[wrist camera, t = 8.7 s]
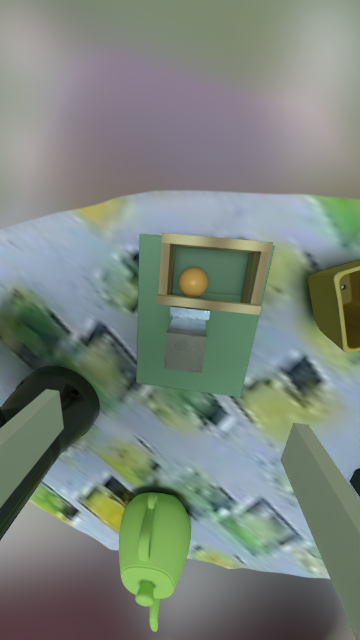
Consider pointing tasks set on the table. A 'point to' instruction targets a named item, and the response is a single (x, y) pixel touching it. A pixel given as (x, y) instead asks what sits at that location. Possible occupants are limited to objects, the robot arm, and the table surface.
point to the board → (222, 327)
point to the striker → (186, 339)
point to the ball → (193, 282)
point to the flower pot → (338, 304)
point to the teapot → (153, 548)
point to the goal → (256, 249)
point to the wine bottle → (356, 481)
